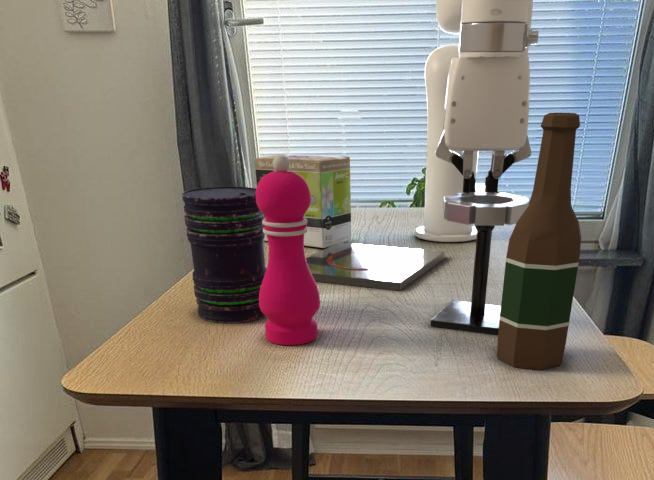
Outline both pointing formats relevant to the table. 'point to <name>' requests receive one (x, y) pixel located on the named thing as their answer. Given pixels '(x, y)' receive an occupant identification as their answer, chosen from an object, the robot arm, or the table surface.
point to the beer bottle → (543, 257)
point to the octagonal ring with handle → (484, 207)
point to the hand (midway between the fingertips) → (478, 209)
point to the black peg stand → (474, 296)
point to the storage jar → (226, 252)
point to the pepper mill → (286, 258)
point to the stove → (371, 265)
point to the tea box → (320, 195)
